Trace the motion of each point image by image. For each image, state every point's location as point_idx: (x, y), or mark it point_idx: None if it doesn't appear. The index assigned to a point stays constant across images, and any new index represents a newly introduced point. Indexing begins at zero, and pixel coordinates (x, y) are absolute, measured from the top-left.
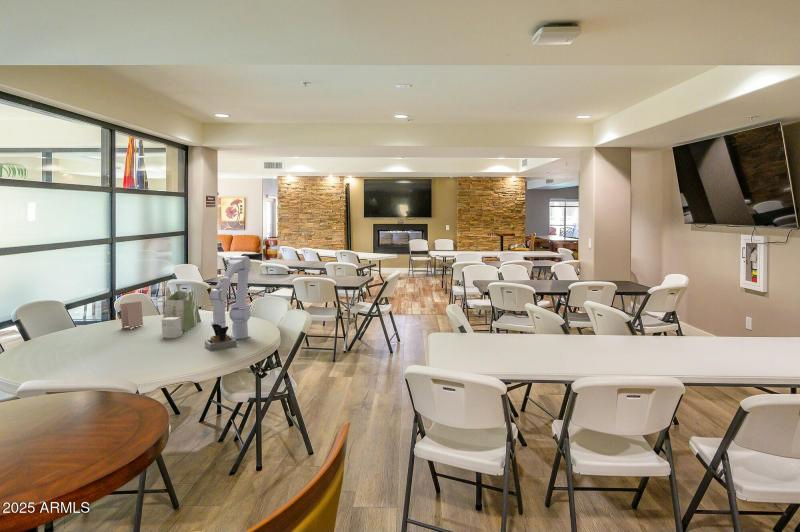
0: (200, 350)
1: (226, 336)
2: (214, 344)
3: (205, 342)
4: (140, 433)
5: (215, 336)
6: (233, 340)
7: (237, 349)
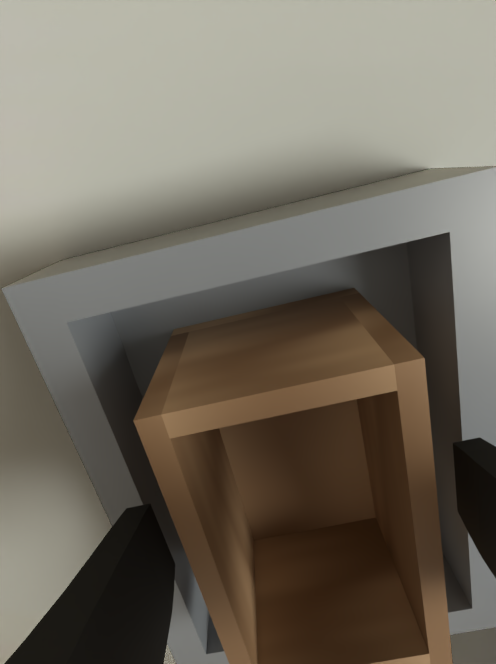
0: (118, 73)
1: (227, 653)
2: (54, 373)
3: (401, 185)
4: None
5: (399, 461)
6: (178, 649)
7: (10, 589)
